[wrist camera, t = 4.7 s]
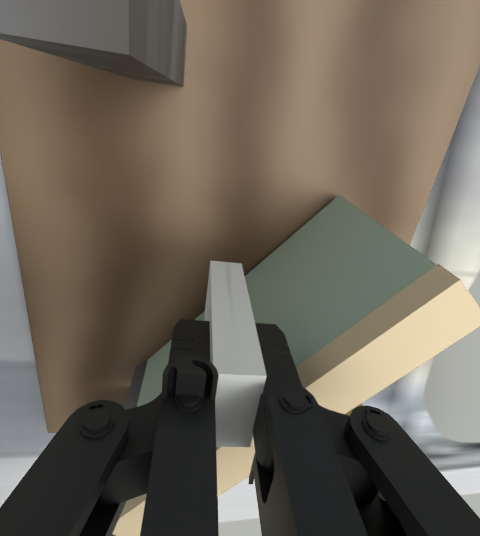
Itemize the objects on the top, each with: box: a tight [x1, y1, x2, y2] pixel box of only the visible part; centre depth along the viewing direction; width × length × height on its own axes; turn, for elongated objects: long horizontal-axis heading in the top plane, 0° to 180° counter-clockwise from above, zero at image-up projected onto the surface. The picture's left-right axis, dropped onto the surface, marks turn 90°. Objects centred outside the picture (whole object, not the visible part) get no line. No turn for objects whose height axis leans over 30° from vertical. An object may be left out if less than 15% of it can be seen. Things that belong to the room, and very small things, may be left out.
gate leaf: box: [112, 195, 480, 536], centre depth 16 cm, size 2×18×10 cm, turn 133°
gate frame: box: [0, 0, 480, 536], centre depth 15 cm, size 23×30×13 cm
